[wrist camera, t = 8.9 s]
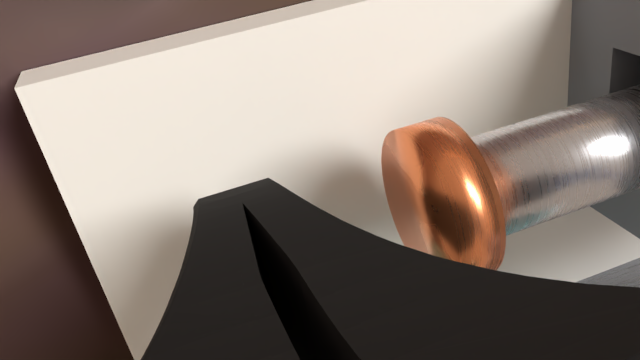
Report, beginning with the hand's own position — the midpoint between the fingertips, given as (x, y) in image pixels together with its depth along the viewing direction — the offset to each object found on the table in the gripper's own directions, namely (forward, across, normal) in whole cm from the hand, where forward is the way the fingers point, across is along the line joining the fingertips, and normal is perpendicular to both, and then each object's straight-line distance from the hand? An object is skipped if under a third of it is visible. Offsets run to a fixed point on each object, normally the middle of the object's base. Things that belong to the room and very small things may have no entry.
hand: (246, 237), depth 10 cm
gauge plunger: (+1, -6, 0) cm, 6 cm away
